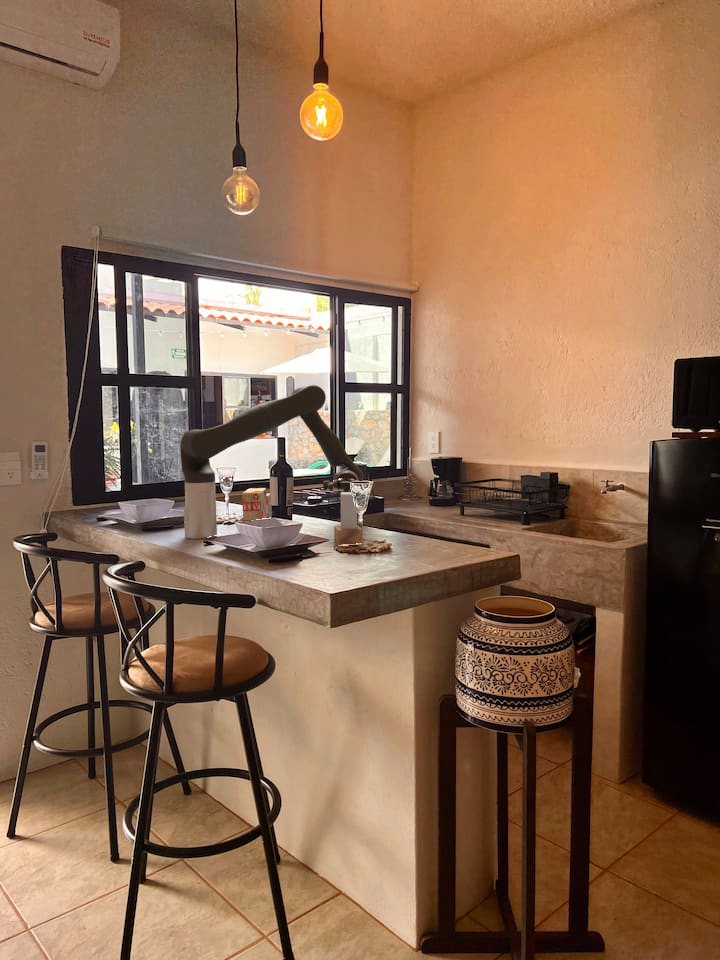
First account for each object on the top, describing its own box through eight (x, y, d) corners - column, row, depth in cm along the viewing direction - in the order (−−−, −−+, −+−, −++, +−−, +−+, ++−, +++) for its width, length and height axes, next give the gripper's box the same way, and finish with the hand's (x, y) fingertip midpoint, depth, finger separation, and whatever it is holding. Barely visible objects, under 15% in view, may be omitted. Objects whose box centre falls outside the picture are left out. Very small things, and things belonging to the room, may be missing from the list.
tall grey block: (340, 528, 197) (340, 494, 196) (341, 525, 202) (341, 492, 201) (356, 528, 197) (356, 494, 196) (356, 525, 202) (356, 492, 201)
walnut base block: (338, 547, 196) (338, 530, 195) (334, 542, 203) (334, 526, 202) (362, 546, 197) (362, 529, 197) (357, 541, 204) (357, 525, 203)
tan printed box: (254, 518, 249) (253, 485, 248) (271, 518, 249) (270, 484, 247) (243, 529, 228) (241, 492, 226) (261, 528, 227) (260, 492, 226)
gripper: (325, 471, 226) (322, 475, 210) (368, 471, 226) (368, 475, 210) (325, 493, 226) (322, 499, 210) (368, 494, 226) (368, 500, 210)
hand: (345, 487), depth 210 cm, fingers open, 8 cm apart
